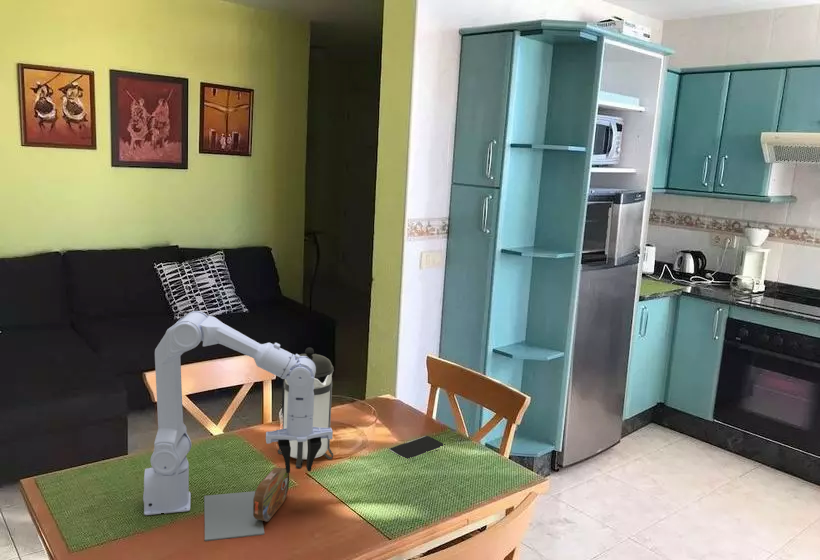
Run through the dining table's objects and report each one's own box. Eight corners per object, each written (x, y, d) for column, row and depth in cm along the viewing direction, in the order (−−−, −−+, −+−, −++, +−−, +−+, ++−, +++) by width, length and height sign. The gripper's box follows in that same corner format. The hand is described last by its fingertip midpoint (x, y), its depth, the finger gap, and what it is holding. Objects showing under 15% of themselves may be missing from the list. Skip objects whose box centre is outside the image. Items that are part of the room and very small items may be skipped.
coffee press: (341, 446, 182) (346, 342, 176) (323, 472, 166) (328, 359, 161) (281, 438, 184) (285, 335, 179) (259, 462, 169) (262, 351, 164)
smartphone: (388, 448, 181) (426, 435, 191) (387, 452, 181) (426, 438, 191) (407, 459, 175) (446, 444, 185) (407, 463, 175) (446, 448, 186)
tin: (262, 528, 139) (265, 492, 138) (248, 525, 140) (251, 489, 138) (289, 496, 154) (292, 462, 152) (276, 493, 154) (279, 460, 153)
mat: (204, 541, 134) (204, 539, 134) (204, 496, 151) (204, 495, 151) (264, 534, 138) (264, 533, 138) (257, 492, 155) (257, 490, 154)
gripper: (268, 421, 138) (267, 481, 141) (336, 417, 143) (333, 475, 145) (265, 409, 145) (264, 466, 147) (330, 405, 149) (327, 461, 152)
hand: (298, 470), depth 147 cm, fingers open, 4 cm apart
